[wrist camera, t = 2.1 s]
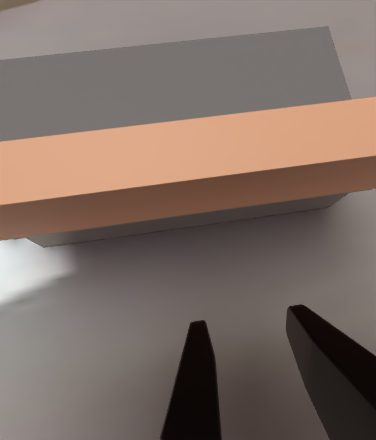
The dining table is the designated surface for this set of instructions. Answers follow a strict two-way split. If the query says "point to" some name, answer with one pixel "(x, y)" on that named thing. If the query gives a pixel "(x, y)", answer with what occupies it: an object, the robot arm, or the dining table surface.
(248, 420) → the dining table surface
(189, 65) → the cable box
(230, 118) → the lid
